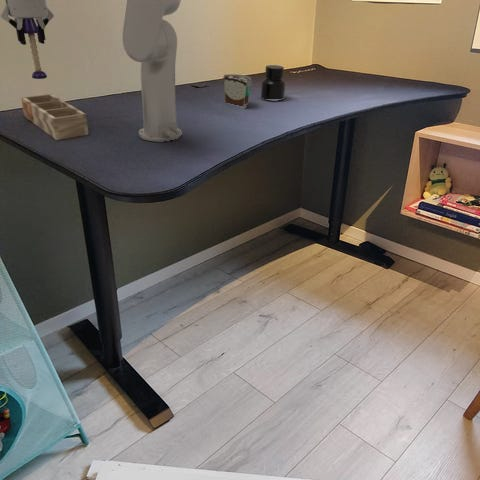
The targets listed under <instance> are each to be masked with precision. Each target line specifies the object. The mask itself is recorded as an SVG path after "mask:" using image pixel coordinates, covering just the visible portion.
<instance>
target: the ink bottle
mask: <svg viewBox="0 0 480 480" xmlns="http://www.w3.org/2000/svg"><path fill="white" fill-rule="evenodd" d="M284 69H285V67H284V66H281V65H276V64H273V65H272V64H270V65H266V66H265V72H264V73H265V75H264V76H265V78H264V79H263V80H262V81H261V90H260V91H261V93H260V98H261V99H262V98H264V99H282V98H285V90H286V82H285V80H284V79H283V77H284Z"/></svg>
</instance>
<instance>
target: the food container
mask: <svg viewBox="0 0 480 480" xmlns="http://www.w3.org/2000/svg"><path fill="white" fill-rule="evenodd" d="M222 77H223V79H222V81H223V88H224V90H223V91H224V104H226V103H230V104H234V105H239V106H243V107H245V106H247V107H248V102H249V97H250V90H251V89H250V88H251V86H253V80H252V78H251V77H250V76H248V75H242V74H232V73H230V74H229V73H228V74H223V76H222Z"/></svg>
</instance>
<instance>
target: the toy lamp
mask: <svg viewBox="0 0 480 480" xmlns="http://www.w3.org/2000/svg"><path fill="white" fill-rule="evenodd" d="M37 26H38V25H37V23H36V20H35V18H23V19H22V30H24V34H25V35H27V34H28V35H27V36H28V38H29V39H28V40H29V44H30V49H31V55H32V60H33V65H34V69H35V70H34V72H33V73H32V74H31V75H32V76H31V77H32V78H31V79H36V80H44V79H47V78H48V76H47V75H48V74H46V72H45V71H43V70H42V66H41V61H40V56H39V51H38V46H37V40H36V39H35V38H36V35H35V34H37V33H39V29H38V27H37Z"/></svg>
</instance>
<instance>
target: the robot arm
mask: <svg viewBox="0 0 480 480" xmlns="http://www.w3.org/2000/svg"><path fill="white" fill-rule="evenodd" d="M181 1H182V0H126V6H125V12H124V22H123V28H122V46H123V48H124V49H123V50H124V51H125V53H126V55H127V56H128V57H129V58H130V59H131V60H133V61H135V62H137V63H141V64H140V87H141V104H142V117H143V127H142V128H140V129H139V130H138V136H139V138H140V139H142V140H145V141H149V142H156V143H157V142H158V143H163V142H164V141H167V142H171V141H170V140H173V141H175V140H174V139H176V138H178V139H180V138H181V137H182V136H183V135H182V133H183V132H182V130H181V128H178V122H177V105H176V104H177V103H176V100H177V99H176V60H177V50H178V38H177V37H178V36H177V33H176V31H175V28H174V27H173V26H172V24H171V23H170V22H168V20H165V19H163V17H165V16H169V15H172V14H174V13H176V11H177V10H178V9H179V7H180V4H181ZM47 5H48V4H47V2H46V0H5V6H4V9H3V10H2V12H1V14H0V17H1V19H2V20H4V21H6V22H7V23H9V24H10V25H11V26H12V27H13V28H14V29H15V31H16V36H17V41H18V42H19V43H20V44H21V45H22V46H26V45H27V40H26V34H25V33H24V30H22V19H23V18H34V20H35V22H36V25H37V27H38V29H39V33H36V35H37V40H38V43H39V44H45V41H46V34H45V30H46V29H45V28H46V26H47V25H48V24H49V22H50V21H51V20H52V19H53V18H54V17H55V16H54V13H52V11H51V10H50V9H49V7H47ZM10 17H12V18H10ZM13 18H14V19H13ZM181 135H182V136H181ZM180 136H181V137H180ZM179 137H180V138H179ZM176 140H177V139H176Z"/></svg>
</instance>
